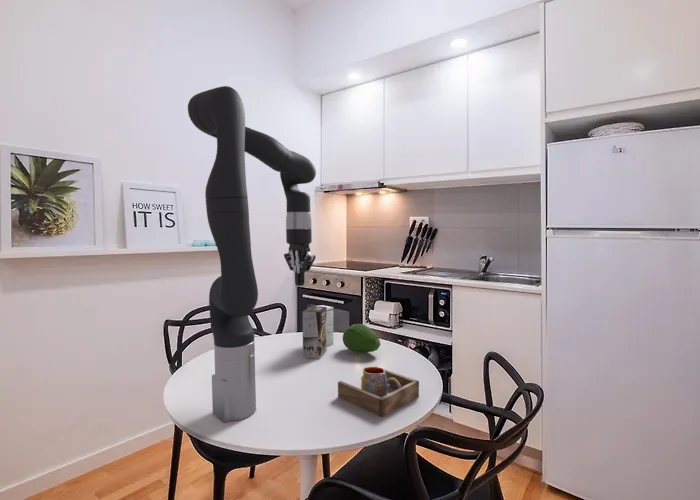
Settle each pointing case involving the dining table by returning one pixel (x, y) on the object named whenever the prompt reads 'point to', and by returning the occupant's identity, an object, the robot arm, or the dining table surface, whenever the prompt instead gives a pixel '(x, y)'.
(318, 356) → the coffee box
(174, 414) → the dining table surface
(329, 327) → the syrup box
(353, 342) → the fruit
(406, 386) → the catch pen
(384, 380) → the mug
